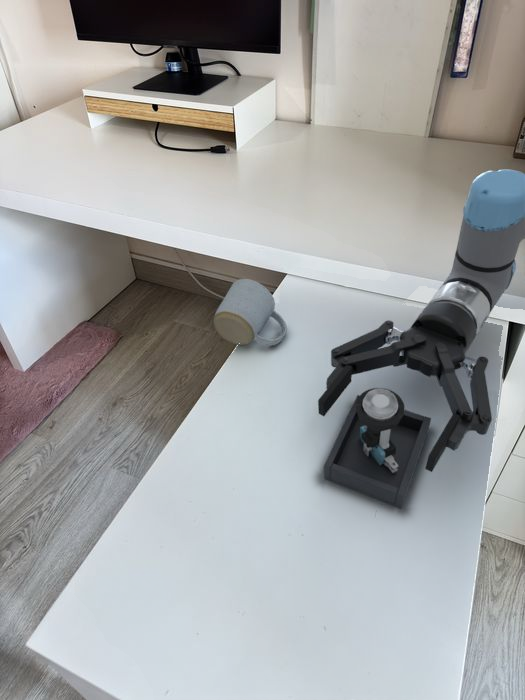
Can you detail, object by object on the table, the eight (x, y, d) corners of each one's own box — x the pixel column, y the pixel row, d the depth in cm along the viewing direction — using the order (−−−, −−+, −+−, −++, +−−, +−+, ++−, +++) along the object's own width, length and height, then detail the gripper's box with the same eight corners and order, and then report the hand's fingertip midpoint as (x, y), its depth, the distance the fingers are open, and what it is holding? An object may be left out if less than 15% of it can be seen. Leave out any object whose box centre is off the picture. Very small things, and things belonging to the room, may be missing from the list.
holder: (427, 431, 65) (431, 418, 63) (401, 509, 58) (404, 496, 56) (356, 408, 69) (357, 394, 66) (324, 478, 62) (323, 466, 60)
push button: (412, 464, 61) (423, 416, 54) (375, 483, 60) (381, 437, 53) (380, 425, 66) (386, 375, 59) (345, 442, 65) (347, 394, 57)
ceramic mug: (213, 342, 80) (205, 306, 74) (235, 309, 85) (229, 273, 79) (275, 358, 77) (272, 322, 71) (294, 322, 82) (292, 286, 76)
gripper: (367, 271, 71) (279, 368, 60) (558, 336, 59) (492, 472, 48) (365, 311, 76) (284, 406, 65) (539, 378, 64) (476, 508, 53)
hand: (372, 435), depth 57 cm, fingers open, 13 cm apart
